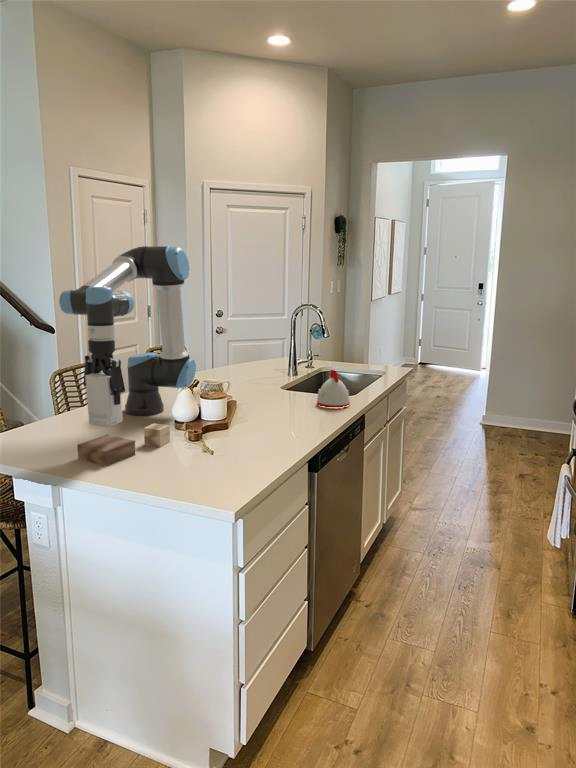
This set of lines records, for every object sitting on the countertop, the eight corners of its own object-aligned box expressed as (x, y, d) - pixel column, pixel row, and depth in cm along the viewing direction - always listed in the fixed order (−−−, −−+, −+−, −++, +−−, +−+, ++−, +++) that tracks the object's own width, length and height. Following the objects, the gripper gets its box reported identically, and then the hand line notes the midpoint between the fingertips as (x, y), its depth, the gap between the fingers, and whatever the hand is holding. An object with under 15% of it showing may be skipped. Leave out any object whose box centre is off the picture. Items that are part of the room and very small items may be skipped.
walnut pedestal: (78, 460, 179) (77, 444, 178) (107, 449, 190) (107, 434, 189) (106, 467, 174) (105, 451, 173) (135, 455, 184) (134, 440, 183)
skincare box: (123, 422, 182) (121, 372, 178) (110, 427, 175) (108, 376, 172) (100, 419, 184) (98, 370, 181) (86, 424, 178) (84, 374, 175)
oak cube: (144, 445, 193) (143, 428, 192) (154, 440, 199) (153, 423, 198) (160, 447, 191) (159, 430, 190) (169, 442, 197) (169, 425, 196)
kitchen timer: (341, 400, 259) (343, 366, 256) (354, 407, 246) (356, 373, 243) (312, 402, 255) (313, 368, 251) (324, 410, 242) (325, 374, 239)
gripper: (67, 337, 177) (72, 409, 182) (115, 344, 165) (118, 420, 170) (88, 334, 183) (92, 404, 188) (136, 341, 171) (138, 415, 176)
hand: (105, 412), depth 179 cm, fingers closed on skincare box, 9 cm apart
